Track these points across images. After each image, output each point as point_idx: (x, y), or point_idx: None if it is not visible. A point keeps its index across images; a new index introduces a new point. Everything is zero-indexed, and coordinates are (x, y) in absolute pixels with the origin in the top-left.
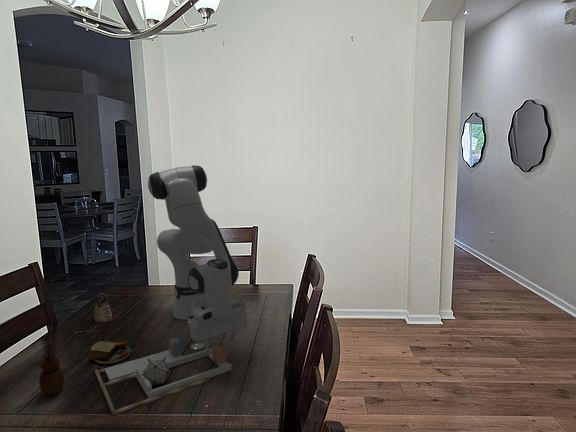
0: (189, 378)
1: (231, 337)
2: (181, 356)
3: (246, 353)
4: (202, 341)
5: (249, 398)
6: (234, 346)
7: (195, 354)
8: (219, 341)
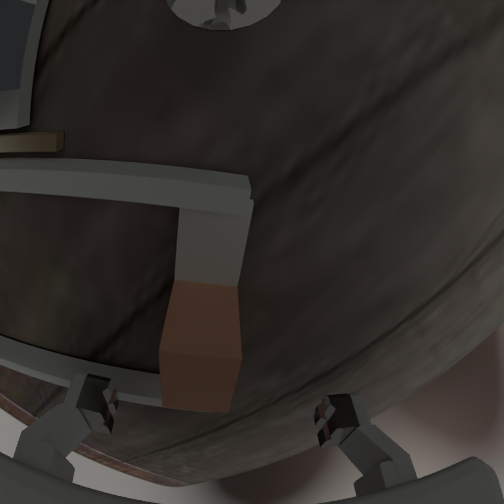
0: (15, 368)
1: (323, 445)
2: (10, 115)
3: (380, 319)
4: (37, 422)
5: (175, 460)
6: (413, 209)
7: (66, 195)
8: (403, 60)
